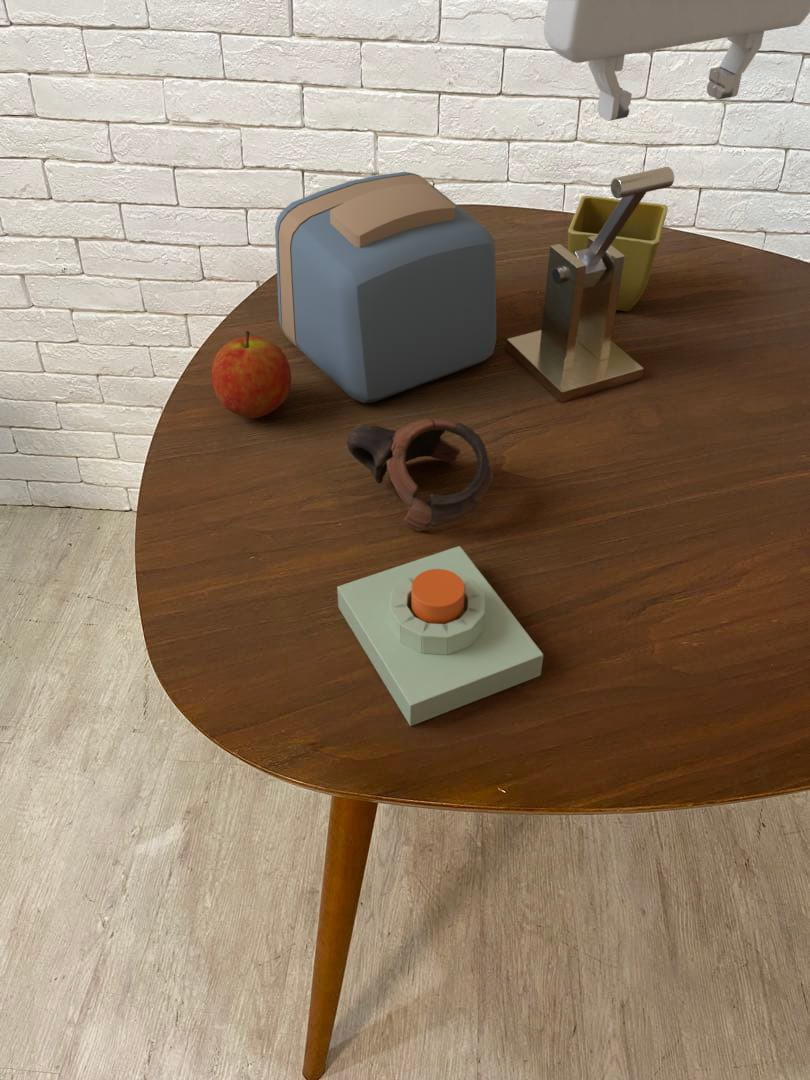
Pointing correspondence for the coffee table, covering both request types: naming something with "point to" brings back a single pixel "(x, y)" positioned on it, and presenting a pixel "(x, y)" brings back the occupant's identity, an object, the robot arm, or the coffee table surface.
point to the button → (437, 596)
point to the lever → (621, 216)
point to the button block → (438, 639)
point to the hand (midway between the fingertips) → (667, 106)
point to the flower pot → (622, 241)
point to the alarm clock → (385, 284)
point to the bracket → (577, 330)
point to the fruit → (251, 376)
